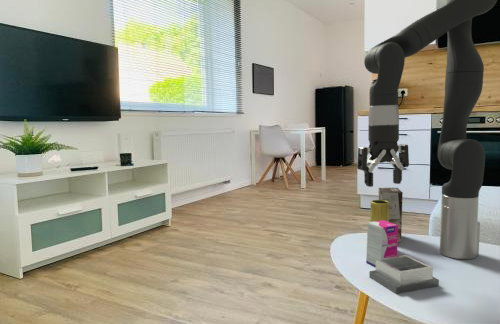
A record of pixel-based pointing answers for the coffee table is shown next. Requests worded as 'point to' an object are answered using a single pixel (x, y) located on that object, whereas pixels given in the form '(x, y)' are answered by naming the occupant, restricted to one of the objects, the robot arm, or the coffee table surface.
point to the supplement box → (381, 241)
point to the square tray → (403, 274)
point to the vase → (379, 210)
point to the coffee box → (393, 206)
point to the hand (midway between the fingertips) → (383, 184)
